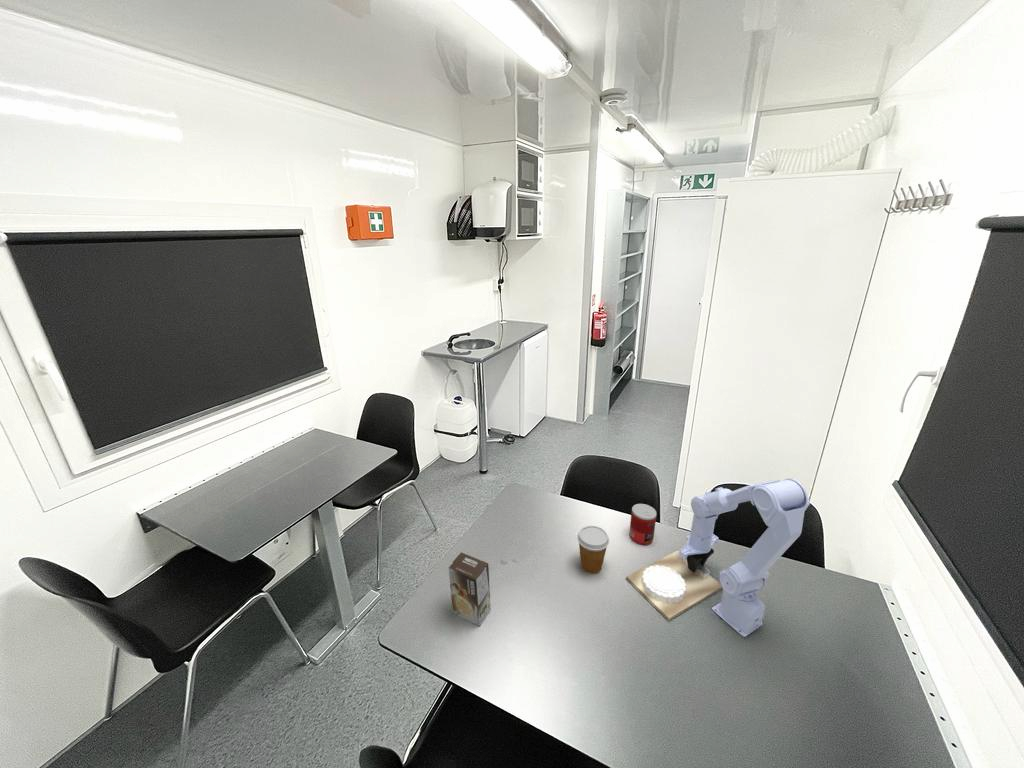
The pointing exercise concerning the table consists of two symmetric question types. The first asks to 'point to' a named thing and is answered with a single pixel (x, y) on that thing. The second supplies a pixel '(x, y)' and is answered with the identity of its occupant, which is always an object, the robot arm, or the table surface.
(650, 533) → the canned food
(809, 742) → the table surface
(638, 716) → the table surface
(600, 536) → the disposable coffee cup
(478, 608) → the coffee box
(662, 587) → the mooncake
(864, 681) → the table surface
